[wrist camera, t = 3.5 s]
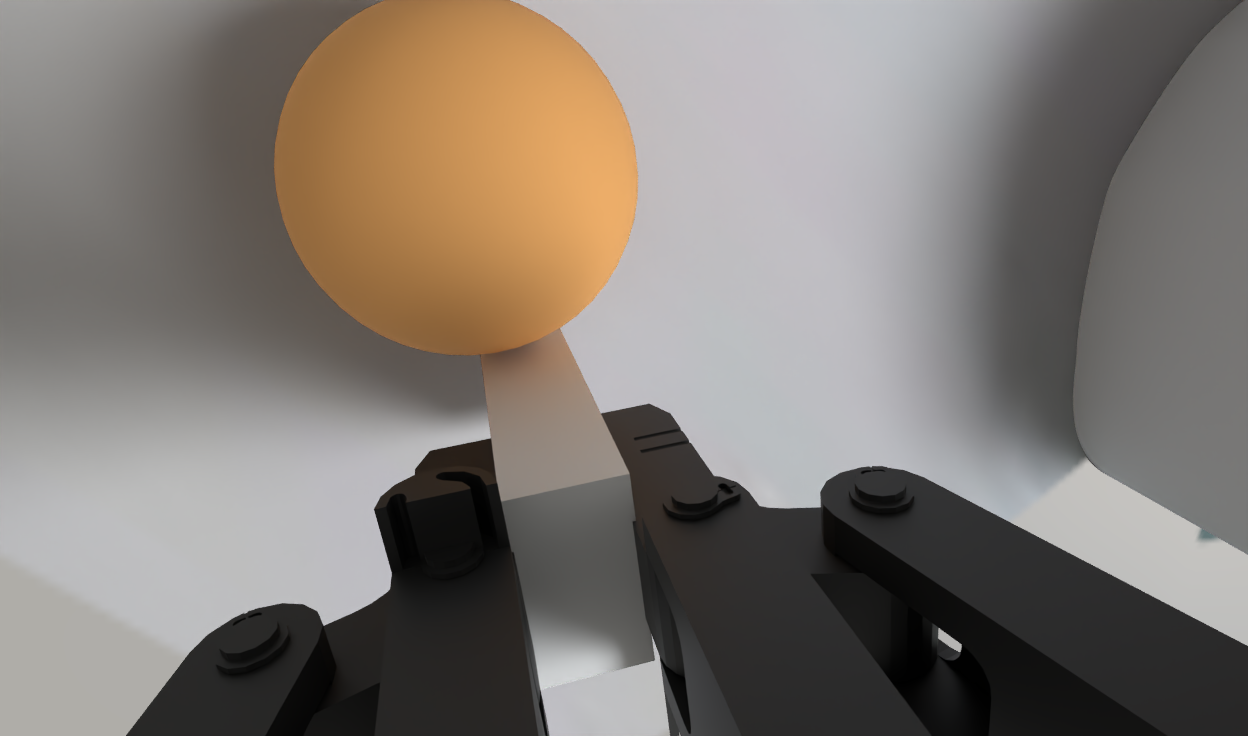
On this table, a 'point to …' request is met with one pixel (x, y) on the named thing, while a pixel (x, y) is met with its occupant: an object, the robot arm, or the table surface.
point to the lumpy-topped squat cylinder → (1176, 299)
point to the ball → (456, 173)
